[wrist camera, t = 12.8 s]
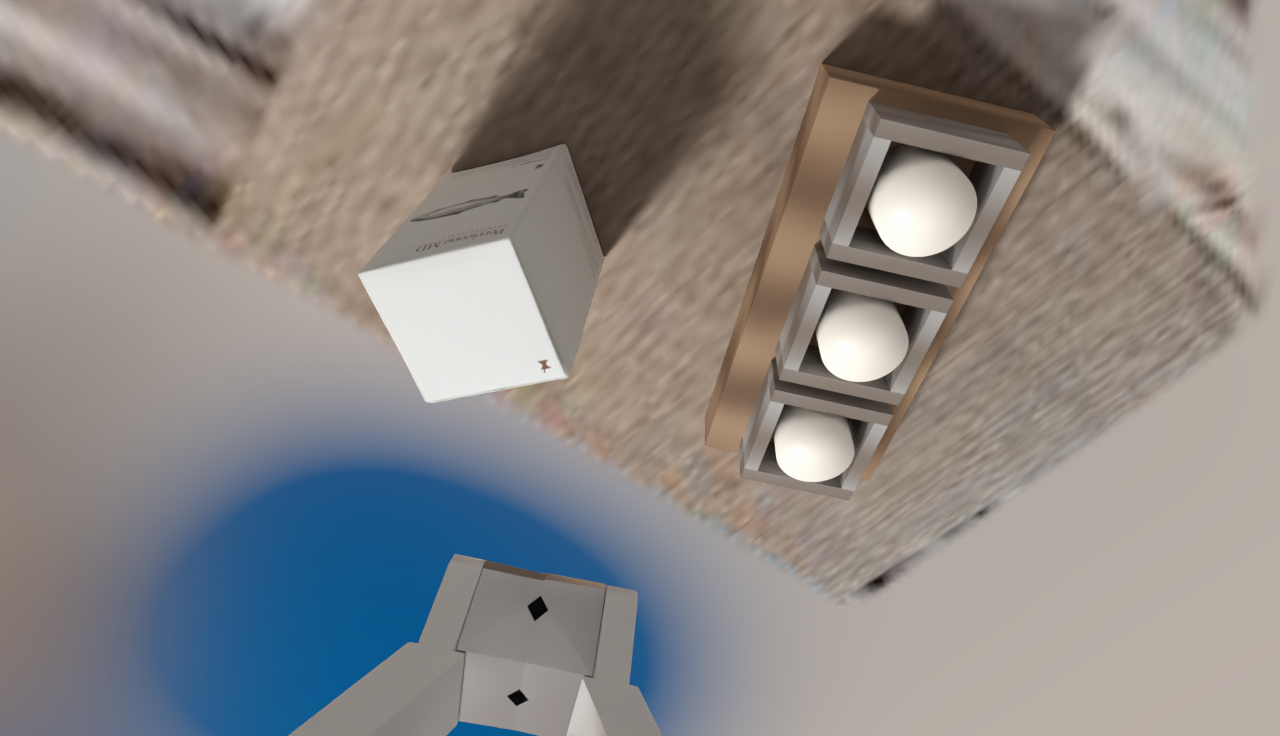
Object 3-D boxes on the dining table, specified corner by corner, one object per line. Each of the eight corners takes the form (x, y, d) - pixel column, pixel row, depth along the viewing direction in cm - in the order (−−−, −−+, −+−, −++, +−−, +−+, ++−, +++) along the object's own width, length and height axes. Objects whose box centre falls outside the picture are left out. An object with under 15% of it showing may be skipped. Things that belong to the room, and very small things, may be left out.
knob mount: (821, 63, 36) (839, 93, 31) (1032, 113, 36) (1083, 151, 31) (705, 416, 49) (704, 477, 44) (861, 449, 49) (878, 513, 44)
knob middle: (829, 272, 38) (837, 301, 36) (908, 290, 38) (922, 320, 36) (802, 340, 41) (808, 372, 38) (876, 356, 41) (888, 389, 38)
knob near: (884, 133, 34) (899, 155, 31) (973, 154, 34) (994, 177, 32) (850, 219, 37) (861, 245, 34) (933, 237, 37) (950, 265, 34)
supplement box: (568, 138, 39) (515, 234, 28) (606, 260, 43) (573, 384, 32) (444, 169, 40) (351, 271, 30) (492, 284, 44) (425, 409, 34)
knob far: (785, 383, 43) (790, 416, 40) (856, 398, 43) (866, 433, 40) (763, 438, 45) (766, 473, 42) (830, 452, 45) (838, 488, 43)
